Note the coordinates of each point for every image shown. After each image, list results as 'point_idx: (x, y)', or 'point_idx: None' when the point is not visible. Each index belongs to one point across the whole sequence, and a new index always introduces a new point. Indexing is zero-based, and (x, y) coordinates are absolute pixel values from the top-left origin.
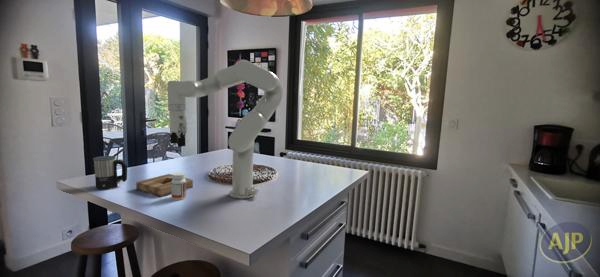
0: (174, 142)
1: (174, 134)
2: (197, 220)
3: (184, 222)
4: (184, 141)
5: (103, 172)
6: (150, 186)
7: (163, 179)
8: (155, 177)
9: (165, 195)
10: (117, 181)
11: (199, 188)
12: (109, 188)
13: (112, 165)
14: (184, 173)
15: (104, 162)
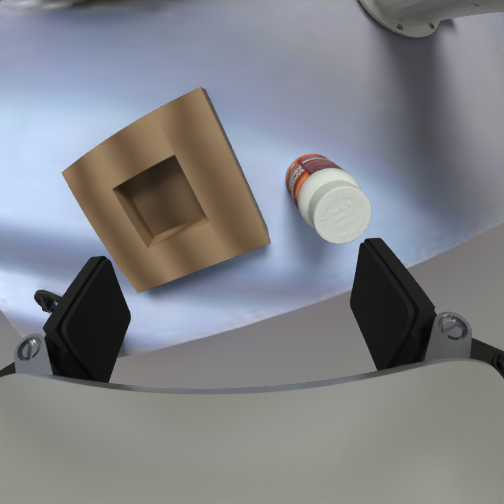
0: (119, 294)
1: (72, 369)
2: (470, 203)
3: (460, 228)
4: (401, 278)
5: None
6: (211, 264)
7: (122, 202)
8: (98, 229)
9: (260, 212)
10: None
11: (237, 69)
12: None
13: None
14: (354, 188)
15: None
